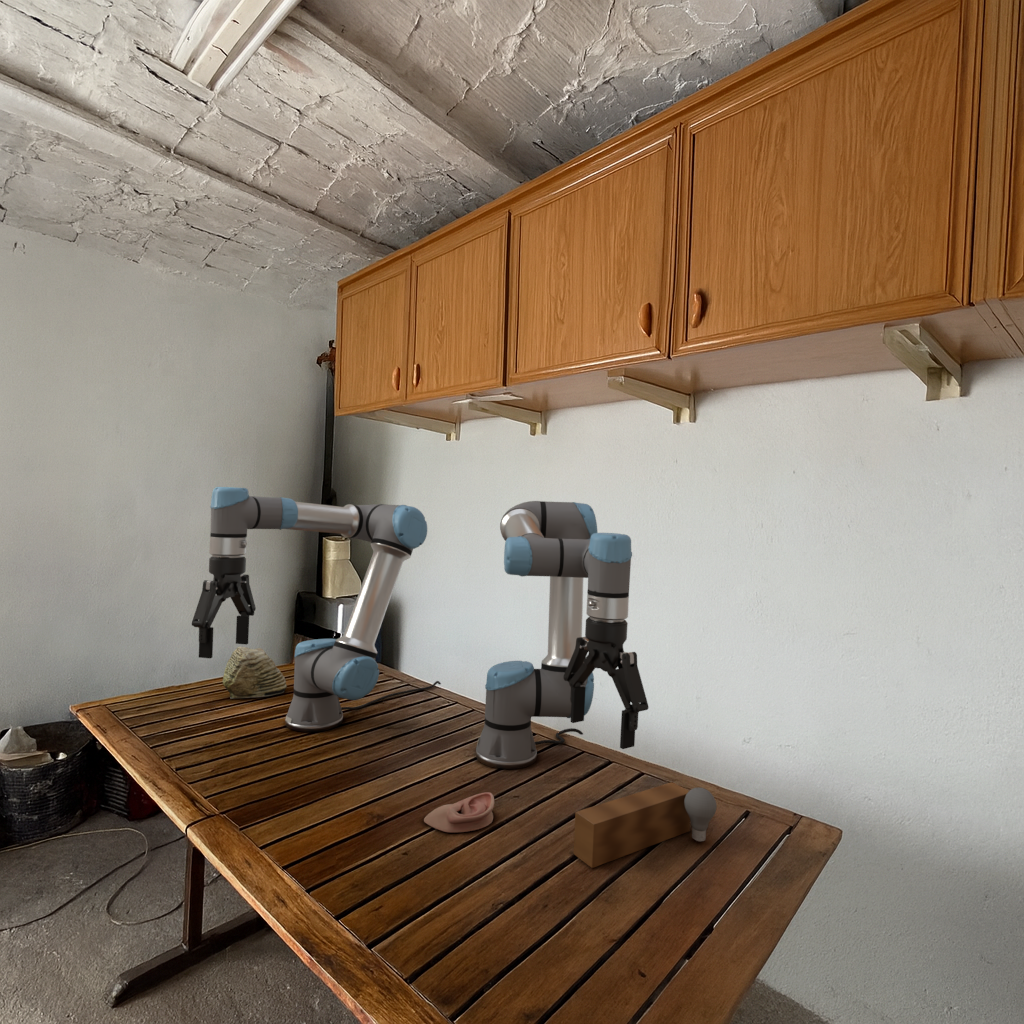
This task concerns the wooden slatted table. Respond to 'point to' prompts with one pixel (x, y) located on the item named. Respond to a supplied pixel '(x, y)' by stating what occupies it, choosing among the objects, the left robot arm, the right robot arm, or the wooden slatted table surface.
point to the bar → (630, 824)
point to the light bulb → (700, 811)
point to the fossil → (252, 674)
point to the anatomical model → (463, 814)
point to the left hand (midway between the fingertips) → (224, 650)
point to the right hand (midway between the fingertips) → (600, 733)
